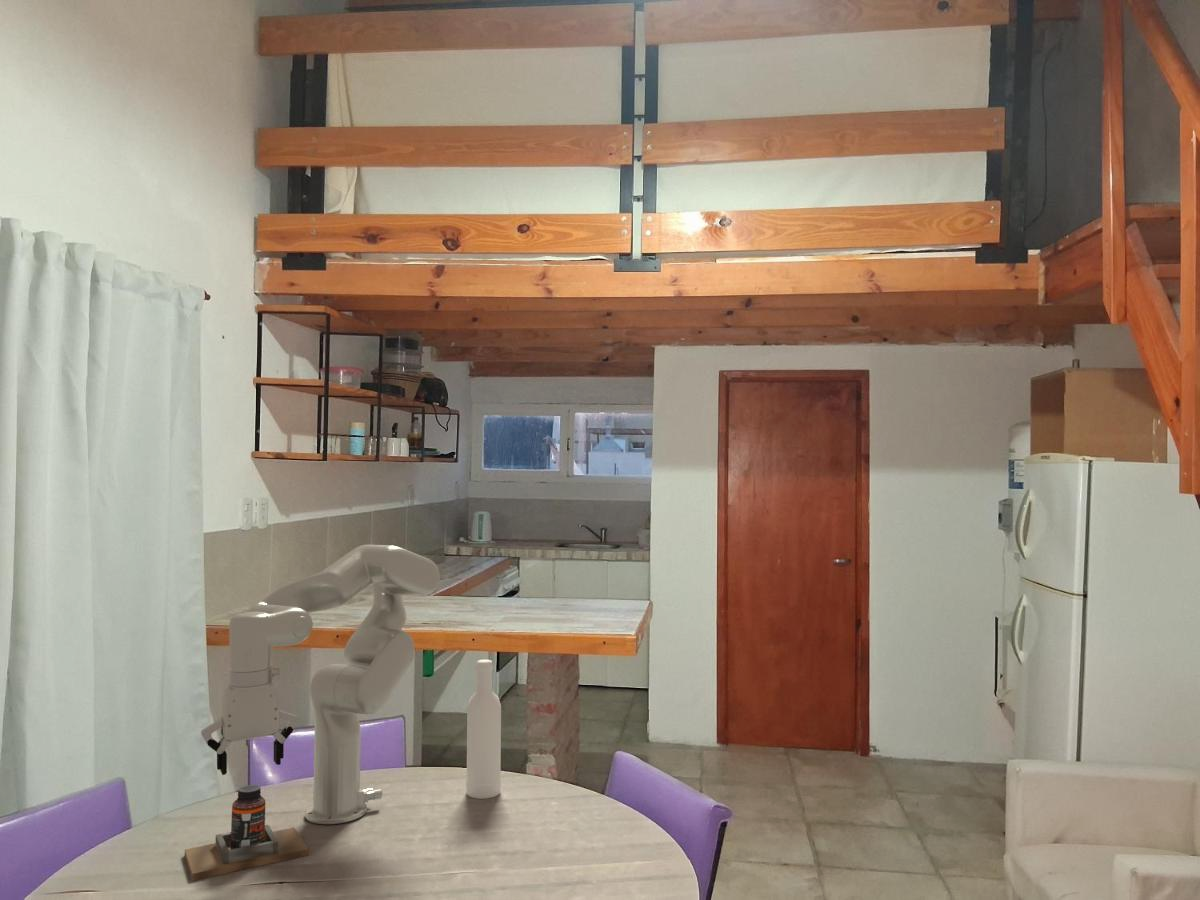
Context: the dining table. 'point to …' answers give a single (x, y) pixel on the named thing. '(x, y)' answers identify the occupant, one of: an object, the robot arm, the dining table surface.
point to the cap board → (243, 853)
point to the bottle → (483, 737)
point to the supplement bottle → (248, 817)
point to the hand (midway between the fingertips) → (250, 767)
